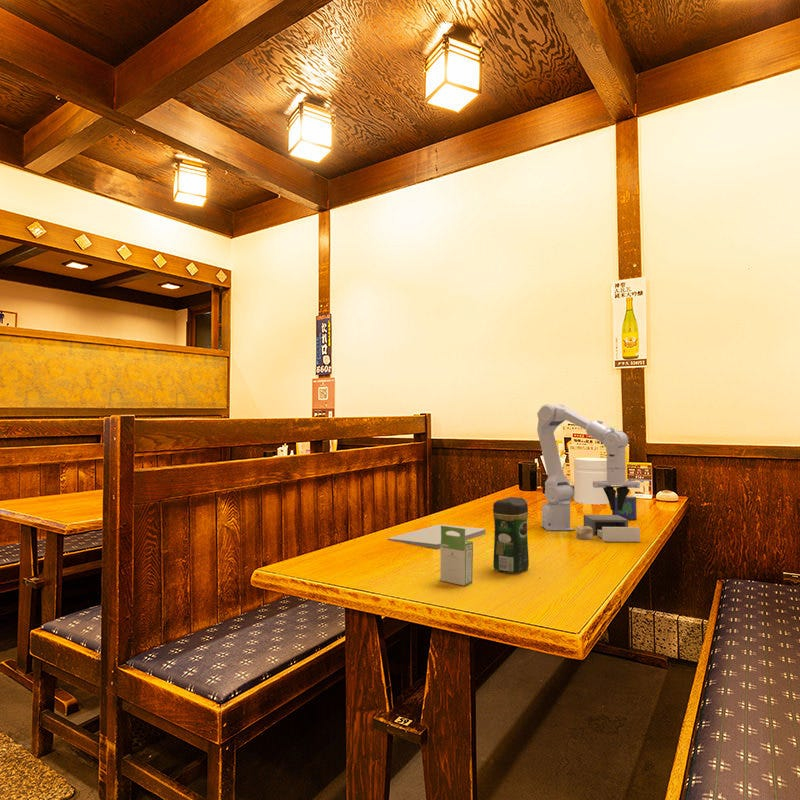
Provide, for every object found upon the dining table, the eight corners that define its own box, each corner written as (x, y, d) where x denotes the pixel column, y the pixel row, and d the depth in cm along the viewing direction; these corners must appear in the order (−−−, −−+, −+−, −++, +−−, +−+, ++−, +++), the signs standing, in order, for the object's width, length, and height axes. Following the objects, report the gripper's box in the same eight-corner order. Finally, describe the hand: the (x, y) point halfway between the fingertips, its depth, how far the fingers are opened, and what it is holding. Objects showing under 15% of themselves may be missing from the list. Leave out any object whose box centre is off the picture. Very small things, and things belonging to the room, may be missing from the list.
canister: (586, 498, 264) (585, 457, 264) (617, 502, 252) (616, 459, 252) (567, 501, 253) (567, 458, 254) (599, 505, 241) (598, 461, 242)
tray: (603, 541, 172) (603, 527, 172) (593, 535, 181) (593, 521, 181) (640, 541, 171) (639, 527, 172) (628, 535, 180) (628, 522, 181)
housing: (592, 535, 181) (592, 519, 182) (583, 529, 190) (583, 514, 191) (628, 535, 181) (628, 519, 181) (617, 529, 190) (617, 515, 190)
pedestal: (580, 539, 175) (580, 528, 175) (576, 536, 179) (576, 526, 179) (592, 539, 175) (592, 528, 175) (588, 536, 179) (588, 526, 179)
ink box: (473, 582, 129) (473, 526, 130) (464, 586, 126) (464, 529, 127) (448, 577, 134) (448, 522, 134) (439, 581, 130) (440, 525, 131)
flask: (635, 519, 211) (635, 491, 211) (638, 520, 208) (637, 492, 208) (611, 518, 211) (610, 491, 211) (613, 520, 208) (613, 492, 208)
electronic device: (438, 551, 161) (438, 544, 161) (387, 541, 174) (387, 534, 174) (486, 534, 184) (486, 528, 184) (438, 527, 196) (438, 521, 196)
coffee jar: (505, 563, 147) (505, 494, 147) (532, 568, 142) (532, 497, 143) (488, 570, 139) (488, 498, 140) (516, 576, 134) (516, 501, 135)
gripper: (597, 469, 173) (598, 512, 172) (643, 469, 172) (644, 512, 172) (590, 467, 180) (590, 508, 179) (634, 467, 179) (634, 508, 179)
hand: (616, 510), depth 176 cm, fingers closed
